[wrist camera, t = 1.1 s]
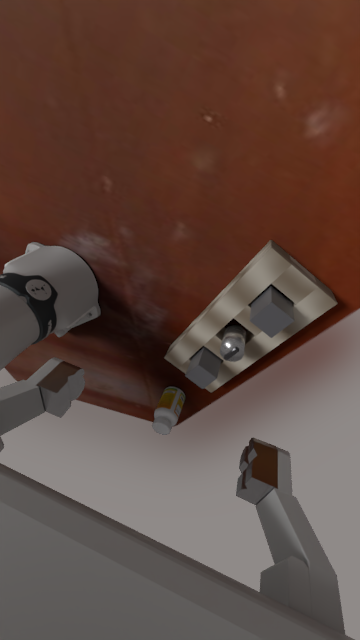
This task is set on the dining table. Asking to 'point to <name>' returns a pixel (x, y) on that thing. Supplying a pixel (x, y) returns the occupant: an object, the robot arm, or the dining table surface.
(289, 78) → the dining table surface
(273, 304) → the outer button
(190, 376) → the inner button
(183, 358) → the mount
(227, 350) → the steel dial
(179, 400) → the supplement bottle
